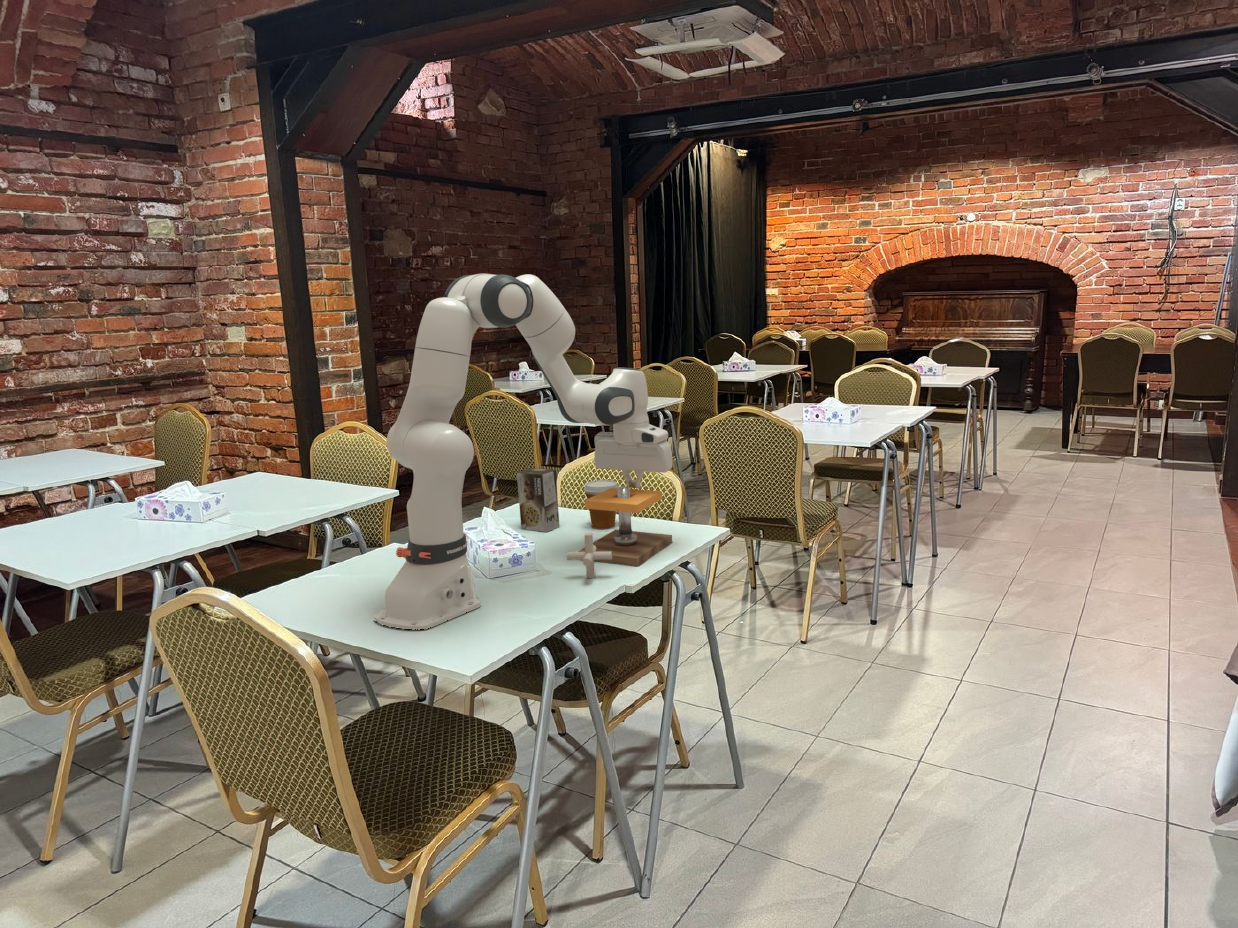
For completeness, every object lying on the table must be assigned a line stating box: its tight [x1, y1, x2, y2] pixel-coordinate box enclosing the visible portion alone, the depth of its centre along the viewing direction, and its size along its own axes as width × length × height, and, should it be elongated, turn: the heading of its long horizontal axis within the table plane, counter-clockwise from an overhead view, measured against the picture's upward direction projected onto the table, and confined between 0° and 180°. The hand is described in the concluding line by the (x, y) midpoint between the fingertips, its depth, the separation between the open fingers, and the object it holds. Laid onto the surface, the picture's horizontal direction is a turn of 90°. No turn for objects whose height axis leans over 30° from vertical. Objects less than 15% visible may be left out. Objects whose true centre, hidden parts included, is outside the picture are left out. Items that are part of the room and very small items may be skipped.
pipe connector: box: [566, 532, 612, 579], centre depth 191 cm, size 10×10×10 cm
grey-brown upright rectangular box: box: [516, 467, 560, 533], centre depth 232 cm, size 9×6×16 cm
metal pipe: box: [614, 485, 637, 546], centre depth 208 cm, size 6×6×14 cm
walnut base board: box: [577, 528, 673, 567], centre depth 209 cm, size 20×16×2 cm
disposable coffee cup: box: [583, 479, 620, 530], centre depth 231 cm, size 10×10×12 cm
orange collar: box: [584, 488, 663, 514], centre depth 207 cm, size 14×14×2 cm
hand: (633, 487), depth 211 cm, fingers closed
